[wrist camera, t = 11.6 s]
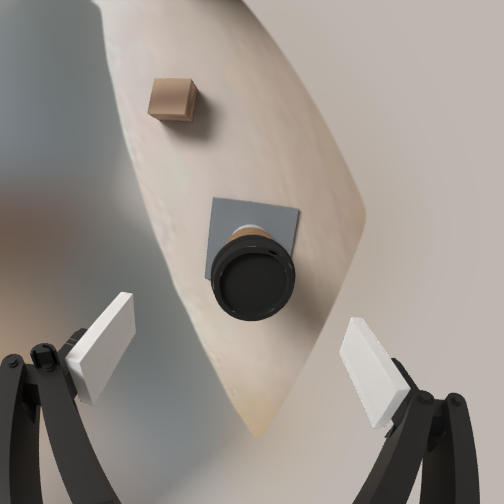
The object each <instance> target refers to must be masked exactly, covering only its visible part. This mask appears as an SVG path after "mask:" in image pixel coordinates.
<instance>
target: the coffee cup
mask: <svg viewBox="0 0 504 504" xmlns="http://www.w3.org/2000/svg"><path fill="white" fill-rule="evenodd" d="M294 283H295V268H294V264H293V261H292V259H291V257H290V255H289V254H288V252H287V251H286V249H285V248H284V247H282V246H281V245H280V244H279V243H277V242H276V241H275V240H274V239H273V238H272V237H271V236H270V235H269V234H268V233H267V232H266V231H265V230H264V229H263V228H261V227H260V226H257V225H252V224H248V225H244V226H241V227H239V228H238V229H237V230H236V231H235V232H234V233H233V234H232V236H231V237H230V239H229V240H228V241H227V243H226V244H225V245H224V246H223V248H222V249H221V250H220V251H219V252H218V253H217V255H216V257H215V258H214V261H213V263H212V267H211V286H212V290H213V293H214V295H215V298H216V300H217V302H218V304H219V305H220V306H221V308H222V309H223V310H224V311H225V312H226V313H228V314H229V315H230V316H232V317H234V318H237V319H240V320H244V321H258V320H263V319H266V318H268V317H271V316H272V315H274V314H275V313H277V312H278V311H279V310H281V309H282V308H283V307H284V306H285V304H286V303H287V302H288V300H289V298H290V296H291V295H292V291H293V288H294Z"/></svg>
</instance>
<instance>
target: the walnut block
mask: <svg viewBox="0 0 504 504" xmlns="http://www.w3.org/2000/svg"><path fill="white" fill-rule="evenodd" d="M197 91H198V89H197V87H196V86H195V84H194V82H193V81H192V79H176V78H166V79H154V84H153V88H152V93H151V98H150V103H149V108H148V113H147V114H149V115H151V116H153V117H154V118H156V119H158V120H172V121H191V122H192V119H193V113H194V107H195V102H196V96H197Z"/></svg>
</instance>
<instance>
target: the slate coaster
mask: <svg viewBox="0 0 504 504" xmlns="http://www.w3.org/2000/svg"><path fill="white" fill-rule="evenodd" d="M298 210H299V209H297V208H290V207H284V206H277V205H270V204H263V203H256V202H249V201H241V200H233V199H225V198H217V197H213V202H212V211H211V219H210V229H209V238H208V248H207V259H206V270H205V279H211V267H212V263H213V261H214V258H215V257H216V255H217V253H218V252H219V251H220V250H221V249H222V248H223V246H224V245H225V244H226V243H227V241H228V240H229V239H230V237H231V236H232V234H233V233H234V232H235V231H236V230H237V229H238V228H239V227H241V226H244V225H248V224H252V225H257V226H260V227H261V228H263V229H264V230H265V231H266V232H267V233H268V234H269V235H270V236H271V237H272V238H273V239H274V240H275V241H276V242H277V243H279V244H280V245H281V246H282V247H284V248H285V249H286V251H287V252H288V254H289V255H290V256H291V250H292V245H293V239H294V234H295V228H296V222H297V216H298Z"/></svg>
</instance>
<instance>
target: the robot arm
mask: <svg viewBox="0 0 504 504" xmlns="http://www.w3.org/2000/svg"><path fill="white" fill-rule="evenodd" d="M135 333H136V329H135V319H134V305H133V294H130V293H125V292H121V293H120V294H119V295H118V296H117V297H116V298H115V300H114V301H113V302H112V303H111V304H110V305H109V306H108V307H107V309H106V310H105V311H104V312H103V313H102V314H101V316H100V317H99V318H98V319H97V320H96V321H95V322H94V324H93V325H92V326H91V327H90V328H89V329H84V328H82V329H80V330H78V331H76V332H75V333H74V334H73V335H72V336H71V337H70V339H69V340H68V341H67V342H66V344H64V345H63V346H62V348H61V349H60V350H59V351H58V352H57V351H56V349H55V347H54V346H53V345H51V344H48V343H42V344H38V345H36V346H35V347H33V349H32V350H31V353H30V355H31V358H32V361H33V363H34V365H32V364H25V363H24V360H23V358H22V357H21V356H20V355H17V354H10V355H8V356H6V357H5V358H4V359H3V360H2V363H1V366H0V504H43V500H42V492H41V483H40V469H39V423H40V407H41V406H42V411H43V416H44V421H45V425H46V429H47V433H48V437H49V440H50V444H51V447H52V451H53V454H54V457H55V460H56V463H57V466H58V469H59V472H60V474H61V477H62V480H63V482H64V485H65V487H66V490H67V492H68V494H69V497H70V499H71V501H72V503H73V504H121V502H120V500H119V499H118V497H117V495H116V494H115V492H114V490H113V488H112V487H111V485H110V483H109V481H108V479H107V477H106V475H105V473H104V471H103V469H102V467H101V465H100V463H99V461H98V459H97V457H96V454H95V452H94V450H93V448H92V445H91V443H90V441H89V438H88V436H87V433H86V431H85V428H84V426H83V423H82V420H81V418H80V415H79V412H78V409H77V406H76V403H75V401H74V398H75V396H76V395H77V394H78V397H79V399H80V401H81V402H83V403H86V404H89V405H92V406H94V405H95V403H96V401H97V400H98V398H99V396H100V394H101V392H102V390H103V389H104V386H105V385H106V383H107V381H108V380H109V378H110V376H111V374H112V372H113V371H114V369H115V367H116V365H117V364H118V362H119V360H120V358H121V357H122V355H123V353H124V351H125V350H126V348H127V346H128V345H129V343H130V341H131V340H132V338H133V336H134V334H135ZM339 354H340V356H341V358H342V360H343V362H344V364H345V366H346V369H347V371H348V373H349V375H350V377H351V380H352V382H353V384H354V386H355V388H356V391H357V393H358V395H359V397H360V400H361V402H362V404H363V406H364V409H365V411H366V413H367V415H368V418H369V420H370V422H371V425H372V427H373V429H375V428H381V427H386V426H387V424H388V423H389V421H390V420H391V419H392V421H393V423H394V425H393V426H392V428H391V429H390V430H389V432H388V433H387V434H386V436H385V438H386V437H387V439H386V441H385V443H384V445H383V448H382V450H381V452H380V454H379V456H378V458H377V460H376V462H375V464H374V466H373V468H372V470H371V472H370V474H369V476H368V478H367V480H366V482H365V483H364V485H363V487H362V488H361V490H360V492H359V494H358V495H357V497H356V499H355V500H354V502H353V503H352V504H406V503H407V500H408V498H409V495H410V493H411V490H412V487H413V485H414V482H415V479H416V476H417V473H418V470H419V467H420V464H421V461H422V458H423V461H422V462H423V464H422V483H421V493H420V503H419V504H480V492H479V476H478V465H477V457H476V450H475V443H474V437H473V432H472V426H471V422H470V417H469V412H468V408H467V404H466V401H465V399H464V398H463V397H462V396H461V395H460V394H457V393H450V394H448V396H447V397H446V399H445V400H439V399H434V397H433V395H431V394H430V393H429V392H427V391H423V390H419V389H418V387H417V386H416V384H415V383H414V381H413V380H412V378H411V377H410V375H408V373H407V371H406V370H405V368H404V367H403V365H402V364H401V363H400V362H399V361H398V360H396V359H395V358H390V357H389V356H388V354H387V353H386V351H385V350H384V348H383V347H382V345H381V344H380V342H379V341H378V340H377V338H376V337H375V335H374V334H373V333H372V331H371V330H370V328H369V327H368V325H367V324H366V323H365V321H364V320H363V318H360V317H351V319H350V322H349V325H348V328H347V331H346V334H345V337H344V340H343V343H342V346H341V349H340V351H339Z"/></svg>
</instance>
